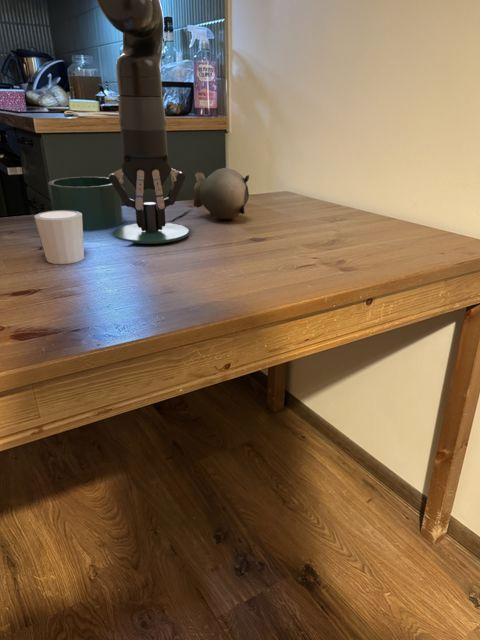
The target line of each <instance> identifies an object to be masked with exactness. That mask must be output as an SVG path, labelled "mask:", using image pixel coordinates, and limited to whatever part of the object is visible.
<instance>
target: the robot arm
mask: <svg viewBox="0 0 480 640" xmlns="http://www.w3.org/2000/svg"><path fill="white" fill-rule="evenodd" d="M95 1H96V3H97V5H98V7H99V9H100V11H101V12H102V14H103V15H104V17H105V18H106V19H107V21H108V22H109V24H110V25H111V26H112V27H113V28H114V29H115V30H117V31H118V32H120V33H122V53H121V55H120V56H118V58H117V60H116V63H115V64H116V68H115V69H116V70H115V71H116V81H117V82H116V83H117V89H118V90H117V92H118V118H119V121H118V122H119V128H120V137H121V138H120V139H121V148H122V163H121V166H120V167H121V168H119V169H118V170H116V171H115V172H110V173H108V178H109V180H110V181H111V183H112V185H113V186H114V188H115V189H116V191H117V193H118V194H119V196H120V197H121V202H123V204H124V206H125V207H127V208H131V209H134V210H135V219H136V224H137V225H138V227H139V228H141V230H142V231H146V226H145V214H144V210H143V203H144V191H146V190H148V189H149V190H153V194H154V198H155V203H156V205H157V220H158V230H162V227H163V226H165V224H166V223H167V222H166V209H167V207H169V206H173V205H175V204H176V203H175V202H176V200H177V198H178V196H179V193H180V191H181V188H182V187H183V184H184V182H185V179H186V175H185V173H184V172H182V171H179V170H176V169H175V168H173V167H172V165H171V163H170V160H169V158H168V157H169V154H168V153H169V152H168V140H167V139H168V138H167V120H166V110H165V109H166V108H165V104H164V98H163V84H162V83H163V82H162V70H161V61H162V56H163V55H162V54H163V42H164V30H165V29H164V25H165V24H164V23H165V22H164V14H163V8H162V5H161V1H160V0H95ZM124 176H125V177H126V179H128V181H129V182H130V183H131V184H132V185H133V187H134V199H133V198H130V196H129V194H128V193H127V192H126V190H125V187H123V184H124V181H125V180H124ZM169 176H170V181H171V182H172V183H171V186H170V187H169V190H168V193H167V195H166V197H164V193H163V188H162V187H163V185H164V183H165V182H166V180H167V179H168V177H169Z"/></svg>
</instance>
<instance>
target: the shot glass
mask: <svg viewBox="0 0 480 640" xmlns="http://www.w3.org/2000/svg"><path fill="white" fill-rule="evenodd" d="M34 221H35V225H36V227H37V231H38V235H39V238H40V242H41V245H42V248H43V252H44V255H45V259H46V262H47V263H48V264H49V263H50V264H54V265H69V264H76V263H78V262H81V261H83V260H84V259H85V246H84V231H83V224H82V213H80V212H77V211H68V210H58V211H52V210H48V211H43V212H39V213H37V214H35V215H34Z"/></svg>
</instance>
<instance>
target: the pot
mask: <svg viewBox="0 0 480 640" xmlns="http://www.w3.org/2000/svg"><path fill="white" fill-rule="evenodd" d="M47 188H48V193H49V198H50V199H49V200H50V205H51V211H58V210H68V211H77V212H80V213H82V224H83V232H84V231H85V232H91V231H100V230H108V229H112V228H115V227H119V226H121V225H123V223H124V216H123V215H124V214H123V206H122V199H121V197H120V196H119V194H118V193H117V191H116V189H115V188H114V186H113V185H112V183H111V181H110V180H109V177H106V176H72V177H71V176H70V177H62V178H56V179H52V180H50V181H48V182H47Z"/></svg>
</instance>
